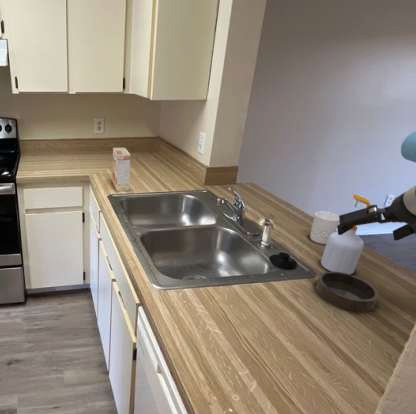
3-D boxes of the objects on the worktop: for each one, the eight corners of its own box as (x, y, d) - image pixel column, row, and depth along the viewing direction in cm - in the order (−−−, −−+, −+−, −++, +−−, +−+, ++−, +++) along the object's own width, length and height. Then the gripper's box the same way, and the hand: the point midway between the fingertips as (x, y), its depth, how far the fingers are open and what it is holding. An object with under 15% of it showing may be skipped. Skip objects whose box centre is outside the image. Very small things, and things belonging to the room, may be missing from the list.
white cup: (303, 235, 127) (309, 212, 123) (321, 234, 128) (328, 210, 124) (319, 246, 119) (327, 221, 115) (338, 244, 121) (346, 219, 117)
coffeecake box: (112, 181, 186) (112, 147, 178) (124, 181, 186) (125, 147, 178) (116, 191, 172) (116, 154, 164) (129, 190, 173) (131, 154, 165)
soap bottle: (319, 257, 113) (341, 189, 103) (352, 264, 108) (377, 194, 99) (320, 270, 106) (343, 198, 96) (355, 278, 101) (383, 205, 92)
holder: (366, 287, 97) (370, 278, 96) (380, 317, 86) (385, 306, 84) (312, 276, 102) (315, 267, 101) (319, 303, 91) (323, 293, 90)
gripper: (358, 214, 75) (317, 240, 94) (495, 225, 69) (421, 251, 88) (355, 184, 77) (315, 216, 97) (486, 193, 72) (417, 225, 91)
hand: (366, 233), depth 93 cm, fingers open, 13 cm apart
